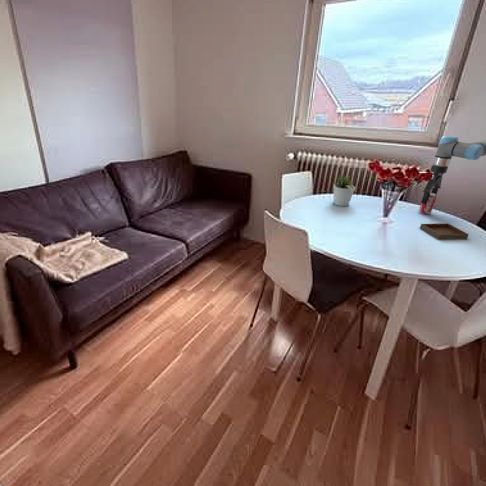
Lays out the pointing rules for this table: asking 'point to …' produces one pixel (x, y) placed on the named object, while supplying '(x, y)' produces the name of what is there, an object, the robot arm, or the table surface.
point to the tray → (444, 231)
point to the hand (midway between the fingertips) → (428, 201)
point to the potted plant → (343, 191)
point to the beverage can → (428, 205)
